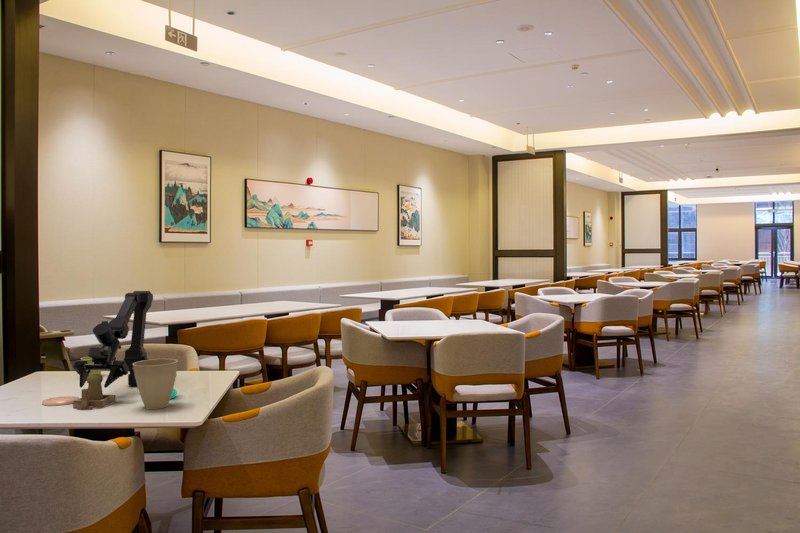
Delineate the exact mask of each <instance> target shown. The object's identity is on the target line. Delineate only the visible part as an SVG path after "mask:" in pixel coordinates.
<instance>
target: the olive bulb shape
mask: <svg viewBox="0 0 800 533" xmlns="http://www.w3.org/2000/svg"><path fill="white" fill-rule="evenodd" d="M103 380H104V378H103V375H102V374H101V375H100V374H92V375H89V376H88V377H87V381H86V383H87V389H89V400H102V399H103V395H104V394H103V387H102V383H103Z"/></svg>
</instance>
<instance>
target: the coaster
mask: <svg viewBox="0 0 800 533" xmlns="http://www.w3.org/2000/svg"><path fill="white" fill-rule="evenodd" d="M79 398H80V397H78V396H72V395H69V396H68V395H65V396H57V397H50V398H46V399H43V400H42V401H41V405H43V406H48V407H53V406H54V407H58V405H60V406H65V405H66V404H67V405H73V401H75V400H77V399H79ZM67 405H66V406H67Z"/></svg>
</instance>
